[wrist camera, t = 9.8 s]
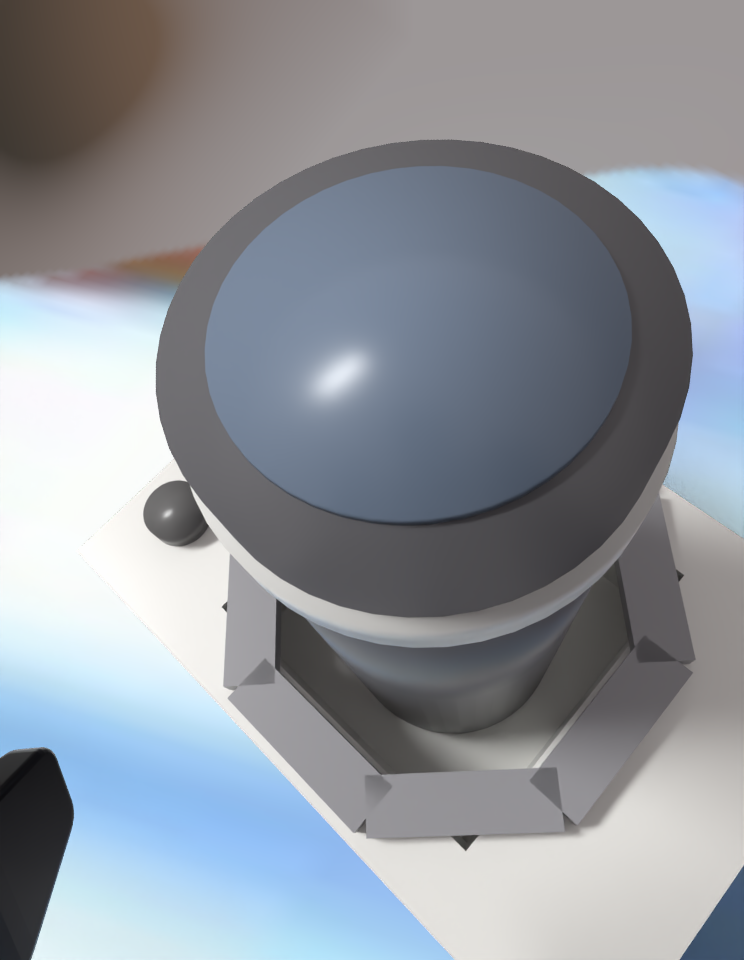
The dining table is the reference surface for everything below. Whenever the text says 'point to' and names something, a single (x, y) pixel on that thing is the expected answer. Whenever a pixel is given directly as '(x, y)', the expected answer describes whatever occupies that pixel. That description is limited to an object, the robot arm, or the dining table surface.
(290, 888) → the dining table surface
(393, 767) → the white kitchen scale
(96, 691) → the dining table surface
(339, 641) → the lens
